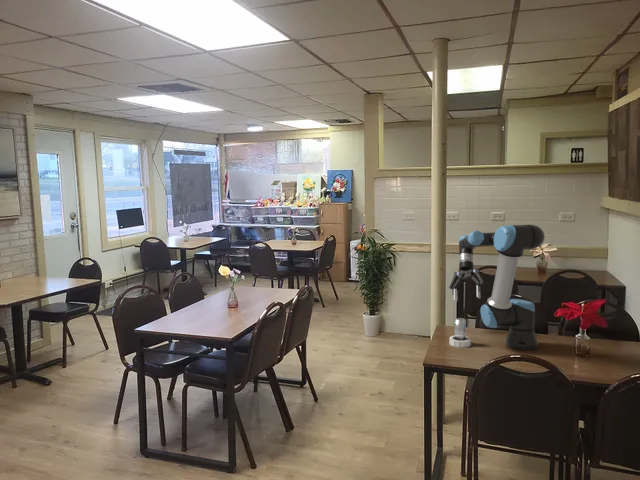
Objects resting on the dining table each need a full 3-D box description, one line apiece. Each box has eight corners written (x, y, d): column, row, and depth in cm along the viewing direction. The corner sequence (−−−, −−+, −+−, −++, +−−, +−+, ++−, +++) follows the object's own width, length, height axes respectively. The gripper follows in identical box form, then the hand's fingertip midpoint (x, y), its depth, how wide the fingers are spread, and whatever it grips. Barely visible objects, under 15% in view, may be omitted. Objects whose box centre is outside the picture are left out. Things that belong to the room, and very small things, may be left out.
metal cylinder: (468, 342, 249) (468, 320, 247) (459, 344, 246) (459, 321, 245) (460, 339, 253) (460, 317, 252) (452, 341, 251) (452, 319, 250)
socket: (475, 345, 247) (475, 339, 247) (459, 348, 243) (459, 342, 243) (461, 339, 257) (461, 334, 257) (445, 342, 252) (445, 337, 252)
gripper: (490, 260, 264) (492, 298, 255) (449, 268, 281) (450, 303, 272) (483, 256, 259) (485, 294, 251) (443, 264, 276) (442, 300, 268)
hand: (466, 299), depth 261 cm, fingers open, 13 cm apart
